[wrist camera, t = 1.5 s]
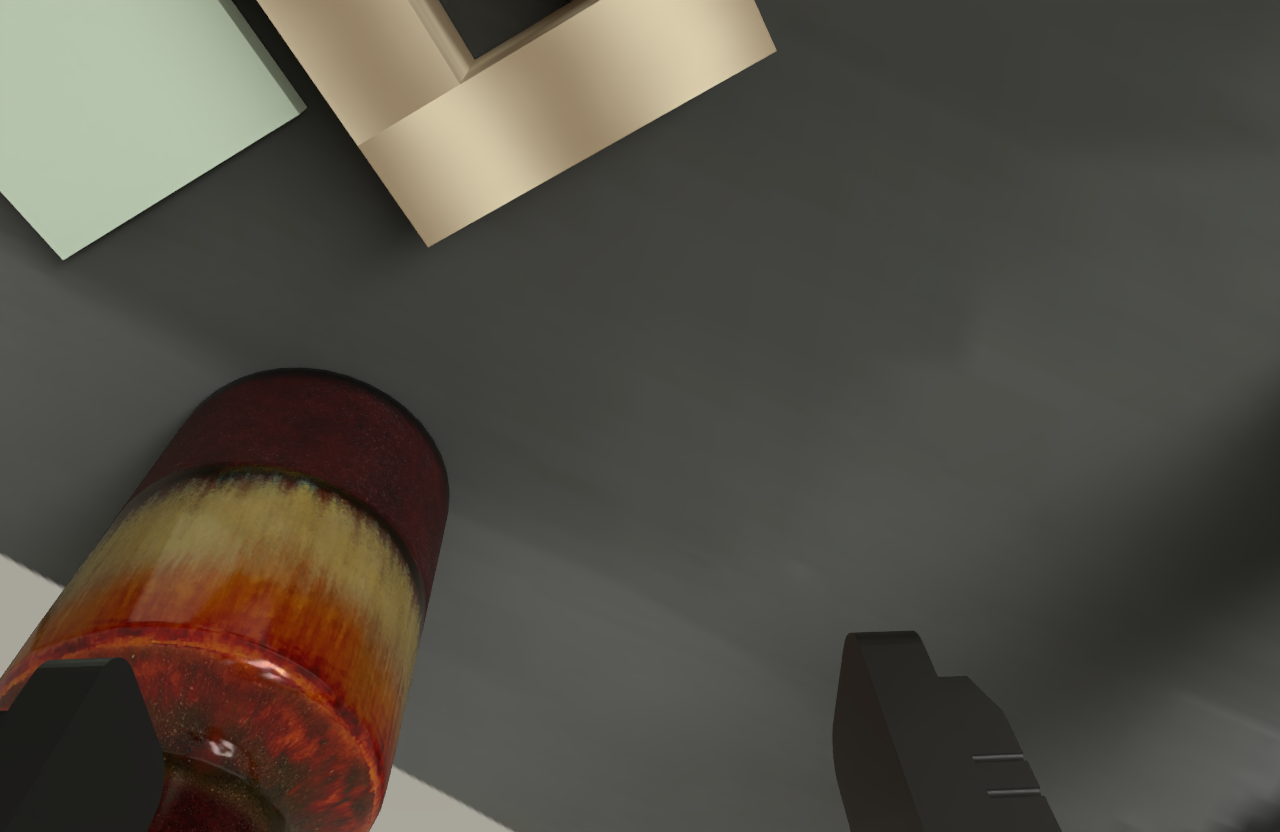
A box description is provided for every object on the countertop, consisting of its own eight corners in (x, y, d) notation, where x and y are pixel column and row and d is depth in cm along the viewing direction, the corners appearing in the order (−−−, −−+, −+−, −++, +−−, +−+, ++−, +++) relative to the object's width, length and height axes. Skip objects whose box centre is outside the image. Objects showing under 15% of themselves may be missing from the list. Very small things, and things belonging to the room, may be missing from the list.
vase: (181, 338, 35) (-224, 806, 18) (471, 397, 37) (365, 877, 20) (172, 563, 41) (-149, 1102, 23) (428, 606, 42) (313, 1136, 25)
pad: (82, -212, 27) (65, -215, 26) (307, 107, 32) (299, 114, 31) (-170, -25, 29) (-193, -22, 28) (76, 250, 34) (63, 260, 33)
